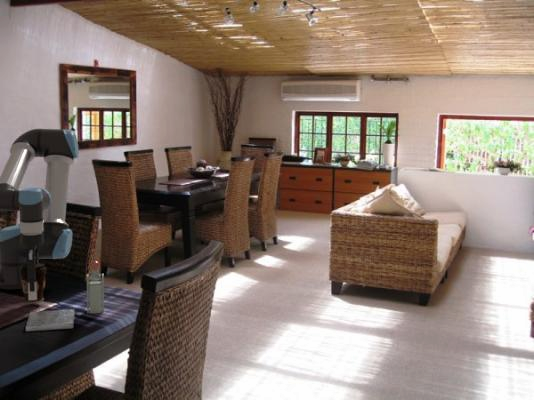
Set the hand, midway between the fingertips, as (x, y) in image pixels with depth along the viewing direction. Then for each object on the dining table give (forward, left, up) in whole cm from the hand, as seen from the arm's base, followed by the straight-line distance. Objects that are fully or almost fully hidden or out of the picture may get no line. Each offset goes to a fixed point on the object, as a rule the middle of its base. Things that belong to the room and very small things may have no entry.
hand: (33, 295), depth 206 cm
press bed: (+18, +7, -3) cm, 20 cm away
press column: (+10, +21, -3) cm, 24 cm away
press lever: (+16, +21, +11) cm, 29 cm away
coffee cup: (0, 0, -2) cm, 2 cm away
